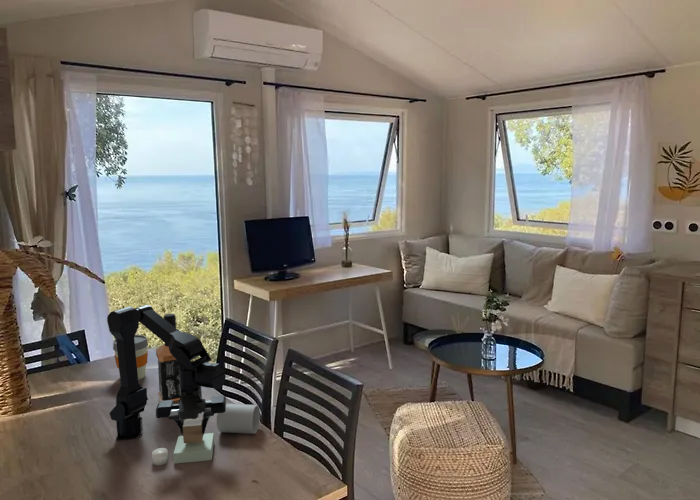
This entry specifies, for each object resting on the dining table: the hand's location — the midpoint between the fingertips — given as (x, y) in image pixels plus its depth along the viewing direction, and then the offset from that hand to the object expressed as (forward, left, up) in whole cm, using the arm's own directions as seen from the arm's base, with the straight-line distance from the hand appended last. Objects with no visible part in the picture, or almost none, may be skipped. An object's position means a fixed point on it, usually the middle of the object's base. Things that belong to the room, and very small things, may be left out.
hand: (193, 434), depth 157 cm
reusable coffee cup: (-30, +64, -6) cm, 71 cm away
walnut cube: (0, 0, -1) cm, 1 cm away
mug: (+7, +13, -2) cm, 15 cm away
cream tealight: (-9, -3, -6) cm, 11 cm away
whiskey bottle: (-10, +34, -6) cm, 36 cm away
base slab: (0, 0, -5) cm, 5 cm away
